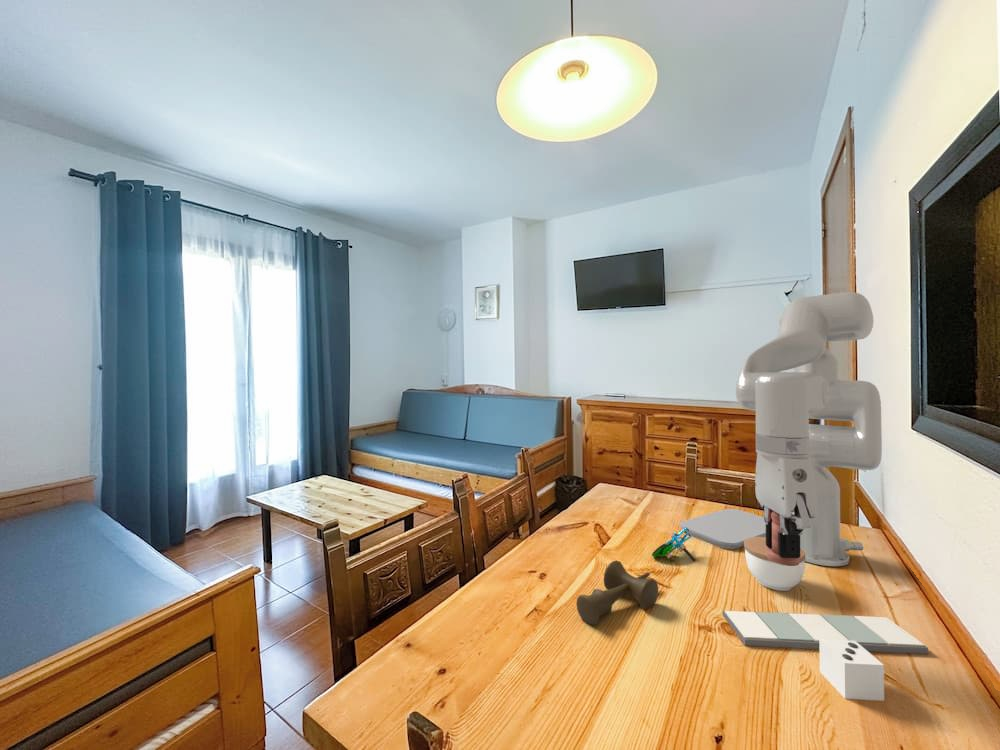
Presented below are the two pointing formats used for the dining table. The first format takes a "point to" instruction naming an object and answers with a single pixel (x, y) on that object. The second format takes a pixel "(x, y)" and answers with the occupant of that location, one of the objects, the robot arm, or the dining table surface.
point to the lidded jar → (771, 566)
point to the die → (851, 669)
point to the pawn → (773, 552)
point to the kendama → (616, 593)
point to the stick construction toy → (668, 548)
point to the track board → (821, 631)
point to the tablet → (726, 527)
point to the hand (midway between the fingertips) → (782, 551)
